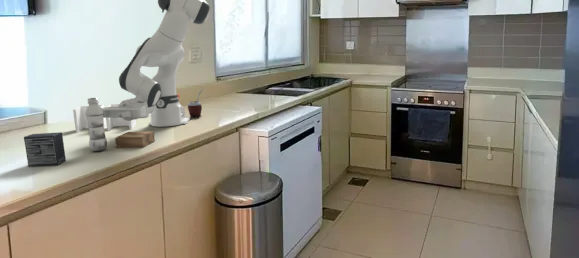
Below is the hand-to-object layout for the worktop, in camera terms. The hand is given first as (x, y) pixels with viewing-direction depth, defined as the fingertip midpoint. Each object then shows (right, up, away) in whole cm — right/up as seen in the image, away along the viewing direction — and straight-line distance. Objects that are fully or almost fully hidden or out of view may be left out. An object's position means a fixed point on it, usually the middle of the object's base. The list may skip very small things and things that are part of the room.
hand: (110, 115), depth 187 cm
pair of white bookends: (-17, -6, +40) cm, 44 cm away
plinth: (+9, -11, +2) cm, 15 cm away
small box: (-13, -18, -22) cm, 31 cm away
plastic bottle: (-2, -14, -6) cm, 15 cm away
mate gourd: (+22, +1, +63) cm, 66 cm away
